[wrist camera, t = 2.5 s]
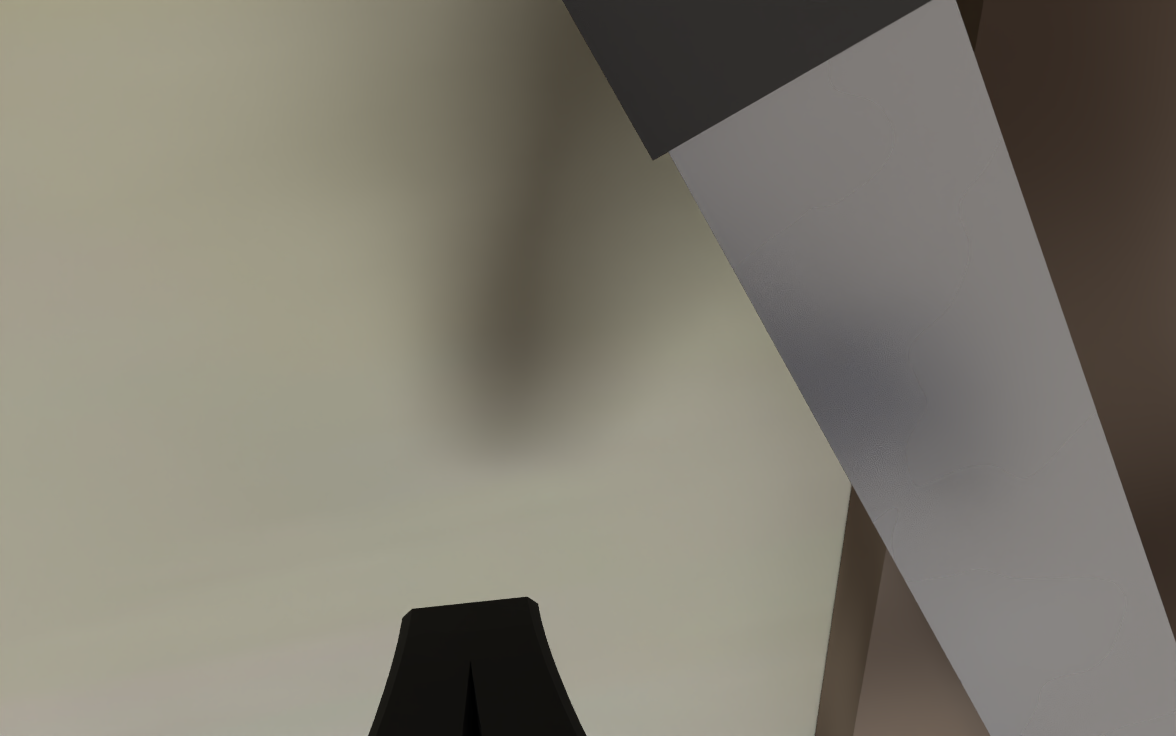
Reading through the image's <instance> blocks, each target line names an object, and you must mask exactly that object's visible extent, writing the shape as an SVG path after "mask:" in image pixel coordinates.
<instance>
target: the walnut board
mask: <svg viewBox="0 0 1176 736" xmlns="http://www.w3.org/2000/svg"><path fill="white" fill-rule="evenodd" d="M956 2H957V5H958V8H959V11H960V14H961V17H962V20H963V23H964V26H965V28H966V31H967V34H968V37H969V40H970V43H971V46H972V49H973V52H974V55H975V58H976V61H977V63H978V66H979V69H980V72H981V75H982V78H983V81H984V84H985V87H986V90H987V93H988V96H989V99H990V101H991V104H992V107H993V110H994V113H995V116H996V119H997V122H998V125H999V128H1000V131H1001V134H1002V136H1003V139H1004V142H1005V145H1006V148H1007V151H1008V154H1009V157H1010V160H1011V163H1012V166H1013V169H1014V171H1015V174H1016V177H1017V180H1018V183H1019V186H1020V189H1021V192H1022V195H1023V198H1024V201H1025V204H1026V207H1027V209H1028V212H1029V215H1030V218H1031V221H1032V224H1033V227H1034V230H1035V233H1036V236H1037V239H1038V242H1039V244H1040V247H1041V250H1042V253H1043V256H1044V259H1045V262H1046V265H1047V268H1048V271H1049V274H1050V277H1051V280H1052V282H1053V285H1054V288H1055V291H1056V294H1057V297H1058V300H1059V303H1060V306H1061V309H1062V312H1063V315H1064V317H1065V320H1066V323H1067V326H1068V329H1069V332H1070V335H1071V338H1072V341H1073V344H1074V347H1075V350H1076V352H1077V355H1078V358H1079V361H1080V364H1081V367H1082V370H1083V373H1084V376H1085V379H1086V382H1087V385H1088V388H1089V390H1090V393H1091V396H1092V399H1093V402H1094V405H1095V408H1096V411H1097V414H1098V417H1099V420H1100V423H1101V425H1102V428H1103V431H1104V434H1105V437H1106V440H1107V443H1108V446H1109V449H1110V452H1111V455H1112V458H1113V461H1114V463H1115V466H1116V469H1117V472H1118V475H1119V478H1120V481H1121V484H1122V487H1123V490H1124V493H1125V496H1126V498H1127V501H1128V504H1129V507H1130V510H1131V513H1132V516H1133V519H1134V522H1135V525H1136V528H1137V531H1138V533H1139V536H1140V539H1141V542H1142V545H1143V548H1144V551H1145V554H1146V557H1147V560H1148V563H1149V566H1150V569H1151V571H1152V574H1153V577H1154V580H1155V583H1156V586H1157V589H1158V592H1159V595H1160V598H1161V601H1162V604H1163V606H1164V609H1165V612H1166V615H1167V618H1168V621H1169V624H1170V627H1171V630H1172V633H1173V636H1174V639H1175V642H1176V0H956ZM815 736H990V734H989V732H988V730H987V728H986V727H985V725H984V723H983V721H982V719H981V718H980V716H979V714H978V712H977V710H976V708H975V707H974V705H973V703H972V701H971V699H970V698H969V696H968V694H967V692H966V690H965V689H964V687H963V685H962V683H961V681H960V680H959V678H958V676H957V674H956V672H955V670H954V669H953V667H952V665H951V663H950V661H949V660H948V658H947V656H946V654H945V652H944V651H943V649H942V647H941V645H940V643H939V641H938V640H937V638H936V636H935V634H934V632H933V631H932V629H931V627H930V625H929V623H928V622H927V620H926V618H925V616H924V614H923V612H922V611H921V609H920V607H919V605H918V603H917V602H916V600H915V598H914V596H913V594H912V593H911V591H910V589H909V587H908V585H907V583H906V582H905V580H904V578H903V576H902V574H901V573H900V571H899V569H898V567H897V565H896V564H895V562H894V560H893V558H892V556H891V554H890V553H889V551H888V549H887V547H886V545H885V544H884V542H883V540H882V538H881V536H880V535H879V533H878V531H877V529H876V527H875V525H874V524H873V522H872V520H871V518H870V516H869V515H868V513H867V511H866V509H865V507H864V506H863V504H862V502H861V500H860V498H859V496H858V495H857V493H856V491H855V489H854V487H853V486H852V489H851V496H850V503H849V509H848V516H847V523H846V530H845V537H844V543H843V550H842V557H841V564H840V571H839V577H838V584H837V591H836V598H835V604H834V611H833V618H832V625H831V632H830V638H829V645H828V652H827V659H826V665H825V672H824V679H823V686H822V693H821V699H820V706H819V713H818V720H817V726H816V733H815Z"/></svg>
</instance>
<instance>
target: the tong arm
mask: <svg viewBox="0 0 1176 736" xmlns="http://www.w3.org/2000/svg"><path fill="white" fill-rule="evenodd" d="M563 2H564V4H565V6H566V8H567V9H568V11H569V13H570V15H571V16H572V18H573V20H574V22H575V24H576V25H577V27H578V29H579V31H580V32H581V34H582V36H583V38H584V39H585V41H586V43H587V45H588V47H589V48H590V50H591V52H592V54H593V55H594V57H595V59H596V61H597V62H598V64H599V66H600V68H601V70H602V71H603V73H604V75H605V77H606V78H607V80H608V82H609V84H610V86H611V87H612V89H613V91H614V93H615V94H616V96H617V98H618V100H619V101H620V103H621V105H622V107H623V109H624V110H625V112H626V114H627V116H628V117H629V119H630V121H631V123H632V125H633V126H634V128H635V130H636V132H637V133H638V135H639V137H640V139H641V140H642V142H643V144H644V146H645V148H646V149H647V151H648V153H649V155H650V156H651V158H652V160H655V159H657V158H658V157H660V156H662V155H663V154H665V153H667V152H669V154H670V156H671V158H672V159H673V161H674V163H675V165H676V167H677V168H678V170H679V172H680V174H681V176H682V178H683V179H684V181H685V183H686V185H687V187H688V188H689V190H690V192H691V194H692V196H693V197H694V199H695V201H696V203H697V205H698V207H699V208H700V210H701V212H702V214H703V216H704V217H705V219H706V221H707V223H708V225H709V226H710V228H711V230H712V232H713V234H714V236H715V237H716V239H717V241H718V243H719V245H720V246H721V248H722V250H723V252H724V254H725V255H726V257H727V259H728V261H729V263H730V265H731V266H732V268H733V270H734V272H735V274H736V275H737V277H738V279H739V281H740V283H741V284H742V286H743V288H744V290H745V292H746V294H747V295H748V297H749V299H750V301H751V303H752V304H753V306H754V308H755V310H756V312H757V313H758V315H759V317H760V319H761V321H762V323H763V324H764V326H765V328H766V330H767V332H768V333H769V335H770V337H771V339H772V341H773V342H774V344H775V346H776V348H777V350H778V352H779V353H780V355H781V357H782V359H783V361H784V362H785V364H786V366H787V368H788V370H789V371H790V373H791V375H792V377H793V379H794V381H795V382H796V384H797V386H798V388H799V390H800V391H801V393H802V395H803V397H804V399H805V400H806V402H807V404H808V406H809V408H810V409H811V411H812V413H813V415H814V417H815V419H816V420H817V422H818V424H819V426H820V428H821V429H822V431H823V433H824V435H825V437H826V438H827V440H828V442H829V444H830V446H831V448H832V449H833V451H834V453H835V455H836V457H837V458H838V460H839V462H840V464H841V466H842V467H843V469H844V471H845V473H846V475H847V477H848V478H849V480H850V482H851V484H852V486H853V487H854V489H855V491H856V493H857V495H858V496H859V498H860V500H861V502H862V504H863V506H864V507H865V509H866V511H867V513H868V515H869V516H870V518H871V520H872V522H873V524H874V525H875V527H876V529H877V531H878V533H879V535H880V536H881V538H882V540H883V542H884V544H885V545H886V547H887V549H888V551H889V553H890V554H891V556H892V558H893V560H894V562H895V564H896V565H897V567H898V569H899V571H900V573H901V574H902V576H903V578H904V580H905V582H906V583H907V585H908V587H909V589H910V591H911V593H912V594H913V596H914V598H915V600H916V602H917V603H918V605H919V607H920V609H921V611H922V612H923V614H924V616H925V618H926V620H927V622H928V623H929V625H930V627H931V629H932V631H933V632H934V634H935V636H936V638H937V640H938V641H939V643H940V645H941V647H942V649H943V651H944V652H945V654H946V656H947V658H948V660H949V661H950V663H951V665H952V667H953V669H954V670H955V672H956V674H957V676H958V678H959V680H960V681H961V683H962V685H963V687H964V689H965V690H966V692H967V694H968V696H969V698H970V699H971V701H972V703H973V705H974V707H975V708H976V710H977V712H978V714H979V716H980V718H981V719H982V721H983V723H984V725H985V727H986V728H987V730H988V732H989V734H990V736H1176V642H1175V639H1174V636H1173V633H1172V630H1171V627H1170V624H1169V621H1168V618H1167V615H1166V612H1165V609H1164V606H1163V604H1162V601H1161V598H1160V595H1159V592H1158V589H1157V586H1156V583H1155V580H1154V577H1153V574H1152V571H1151V569H1150V566H1149V563H1148V560H1147V557H1146V554H1145V551H1144V548H1143V545H1142V542H1141V539H1140V536H1139V533H1138V531H1137V528H1136V525H1135V522H1134V519H1133V516H1132V513H1131V510H1130V507H1129V504H1128V501H1127V498H1126V496H1125V493H1124V490H1123V487H1122V484H1121V481H1120V478H1119V475H1118V472H1117V469H1116V466H1115V463H1114V461H1113V458H1112V455H1111V452H1110V449H1109V446H1108V443H1107V440H1106V437H1105V434H1104V431H1103V428H1102V425H1101V423H1100V420H1099V417H1098V414H1097V411H1096V408H1095V405H1094V402H1093V399H1092V396H1091V393H1090V390H1089V388H1088V385H1087V382H1086V379H1085V376H1084V373H1083V370H1082V367H1081V364H1080V361H1079V358H1078V355H1077V352H1076V350H1075V347H1074V344H1073V341H1072V338H1071V335H1070V332H1069V329H1068V326H1067V323H1066V320H1065V317H1064V315H1063V312H1062V309H1061V306H1060V303H1059V300H1058V297H1057V294H1056V291H1055V288H1054V285H1053V282H1052V280H1051V277H1050V274H1049V271H1048V268H1047V265H1046V262H1045V259H1044V256H1043V253H1042V250H1041V247H1040V244H1039V242H1038V239H1037V236H1036V233H1035V230H1034V227H1033V224H1032V221H1031V218H1030V215H1029V212H1028V209H1027V207H1026V204H1025V201H1024V198H1023V195H1022V192H1021V189H1020V186H1019V183H1018V180H1017V177H1016V174H1015V171H1014V169H1013V166H1012V163H1011V160H1010V157H1009V154H1008V151H1007V148H1006V145H1005V142H1004V139H1003V136H1002V134H1001V131H1000V128H999V125H998V122H997V119H996V116H995V113H994V110H993V107H992V104H991V101H990V99H989V96H988V93H987V90H986V87H985V84H984V81H983V78H982V75H981V72H980V69H979V66H978V63H977V61H976V58H975V55H974V52H973V49H972V46H971V43H970V40H969V37H968V34H967V31H966V28H965V26H964V23H963V20H962V17H961V14H960V11H959V8H958V5H957V2H956V0H563Z"/></svg>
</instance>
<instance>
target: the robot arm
mask: <svg viewBox="0 0 1176 736" xmlns="http://www.w3.org/2000/svg"><path fill="white" fill-rule="evenodd" d="M368 736H586V734H585V732H584V730H583V728H582V726H581V724H580V722H579V719H578V717H577V715H576V713H575V711H574V708H573V706H572V704H571V702H570V699H569V697H568V695H567V692H566V690H565V687H564V685H563V682H562V680H561V678H560V675H559V673H558V670H557V668H556V665H555V662H554V659H553V657H552V654H551V651H550V648H549V645H548V642H547V639H546V635H545V632H544V628H543V625H542V621H541V617H540V612H539V606H538V603H536V602H535V601H533V600H532V599H530V598H529V597H520V598H510V599H501V600H492V601H482V602H473V603H463V604H454V605H444V606H435V607H425V608H416V609H412V610H410V611H409V612H408V613H407V614H406V615H405V616H404V617H403V618H402V623H401V628H400V634H399V638H398V643H397V647H396V651H395V655H394V658H393V662H392V666H391V669H390V673H389V676H388V679H387V682H386V686H385V689H384V692H383V695H382V698H381V701H380V704H379V707H378V710H377V713H376V716H375V719H374V722H373V724H372V727H371V730H370V732H369V735H368Z"/></svg>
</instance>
